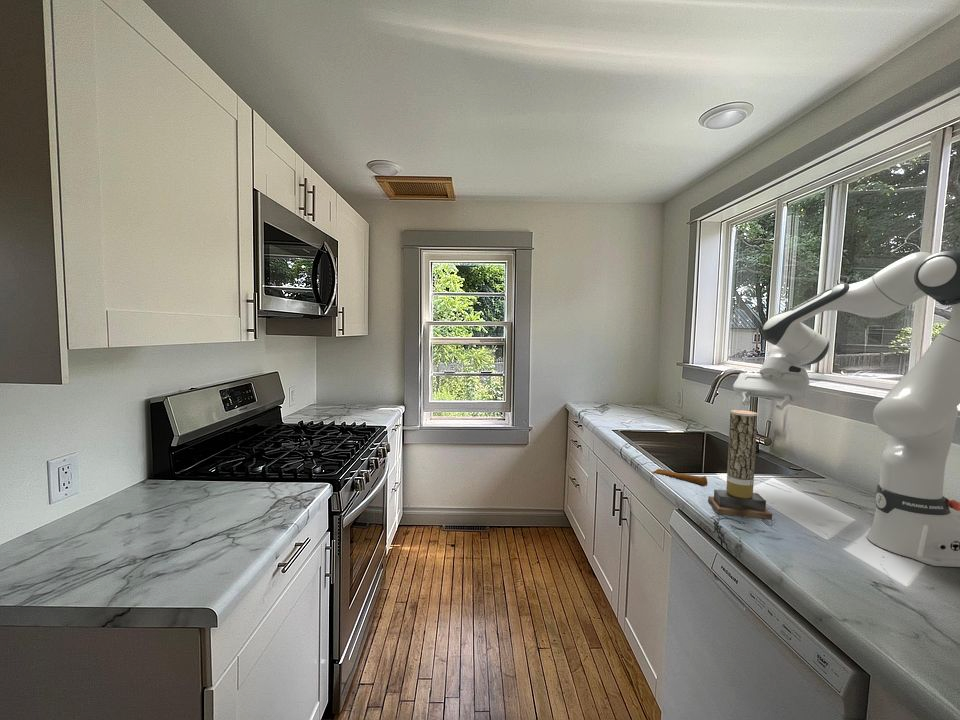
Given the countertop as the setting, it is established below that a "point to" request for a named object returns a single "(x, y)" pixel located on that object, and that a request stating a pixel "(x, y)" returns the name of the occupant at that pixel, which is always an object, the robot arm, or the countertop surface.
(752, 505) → the stand
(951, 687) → the countertop surface
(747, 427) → the bark patterned cylinder
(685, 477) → the primitive tool
